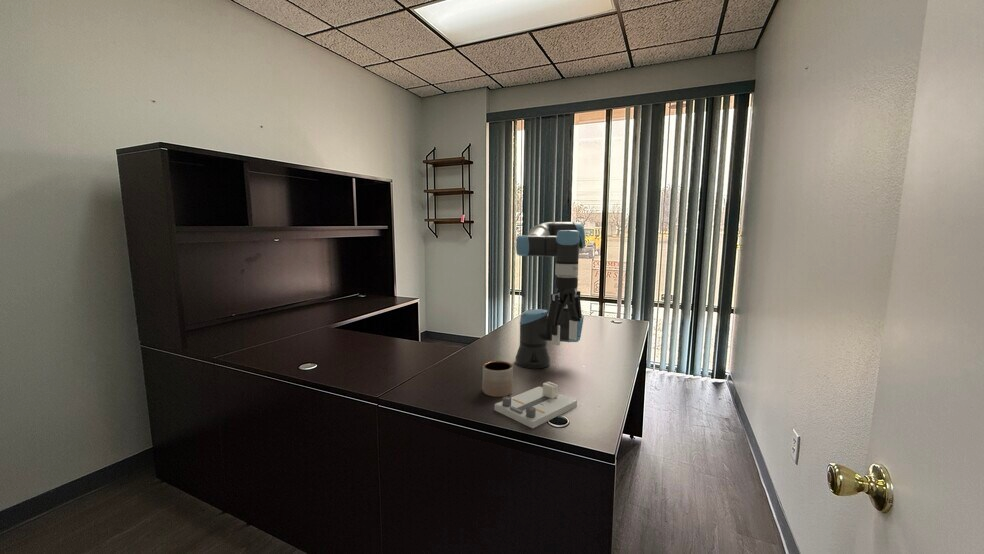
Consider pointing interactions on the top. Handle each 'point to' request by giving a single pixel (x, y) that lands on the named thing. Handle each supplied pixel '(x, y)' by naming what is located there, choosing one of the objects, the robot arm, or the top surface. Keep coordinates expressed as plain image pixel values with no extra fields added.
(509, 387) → the planter
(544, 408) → the console
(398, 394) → the top surface
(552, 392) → the fader
